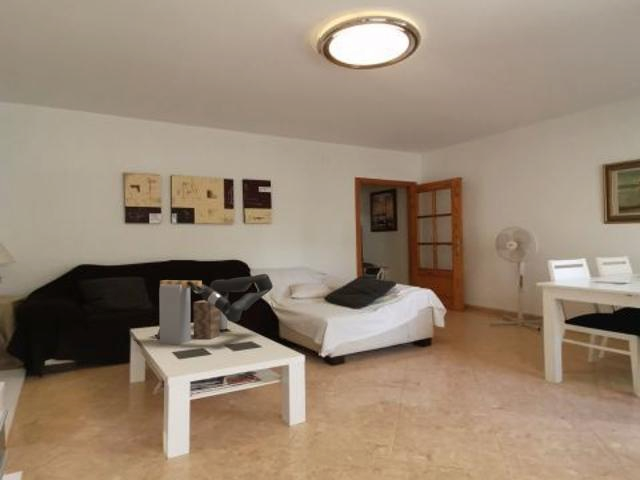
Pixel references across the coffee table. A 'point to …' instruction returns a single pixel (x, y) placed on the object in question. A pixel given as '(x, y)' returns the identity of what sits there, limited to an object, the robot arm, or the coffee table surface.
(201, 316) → the walnut step
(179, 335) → the grey stand
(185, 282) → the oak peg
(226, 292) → the robot arm
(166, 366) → the coffee table surface
